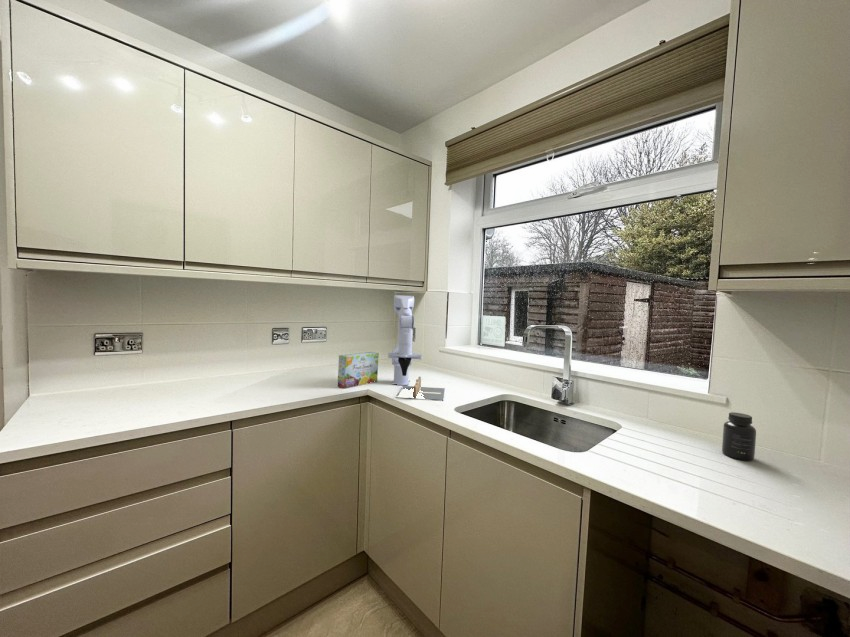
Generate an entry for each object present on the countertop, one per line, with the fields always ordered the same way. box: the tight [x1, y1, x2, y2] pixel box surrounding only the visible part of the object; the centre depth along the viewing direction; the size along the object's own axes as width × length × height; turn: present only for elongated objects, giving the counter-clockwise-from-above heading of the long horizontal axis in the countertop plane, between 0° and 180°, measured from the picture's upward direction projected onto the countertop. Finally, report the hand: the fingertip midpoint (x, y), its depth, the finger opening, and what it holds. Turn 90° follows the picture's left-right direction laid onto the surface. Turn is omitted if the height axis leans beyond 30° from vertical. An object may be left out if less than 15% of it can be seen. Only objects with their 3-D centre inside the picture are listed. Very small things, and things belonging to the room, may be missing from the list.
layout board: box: [402, 376, 445, 402], centre depth 152 cm, size 20×20×6 cm
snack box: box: [337, 351, 380, 389], centre depth 164 cm, size 21×6×15 cm, turn 143°
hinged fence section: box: [413, 381, 419, 398], centre depth 146 cm, size 10×1×4 cm, turn 175°
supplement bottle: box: [721, 411, 757, 462], centre depth 96 cm, size 7×7×12 cm
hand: (404, 375), depth 144 cm, fingers closed
